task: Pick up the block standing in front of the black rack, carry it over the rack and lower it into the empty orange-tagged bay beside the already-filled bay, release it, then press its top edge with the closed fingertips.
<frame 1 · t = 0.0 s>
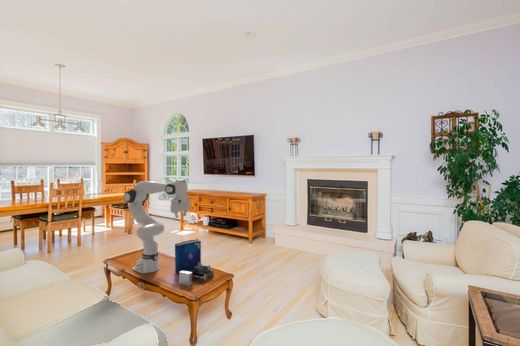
hand: (180, 216, 212), 48 cm above the table, fingers open, 8 cm apart
book: (187, 271, 223), on the table
block: (185, 283, 199), on the table
rack: (200, 277, 210), on the table
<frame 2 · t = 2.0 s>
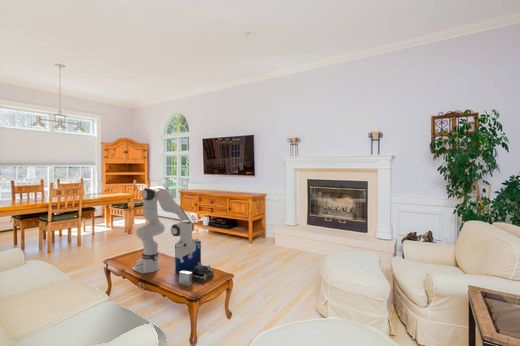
hand: (186, 260, 198), 18 cm above the table, fingers open, 8 cm apart
nothing on the table moved.
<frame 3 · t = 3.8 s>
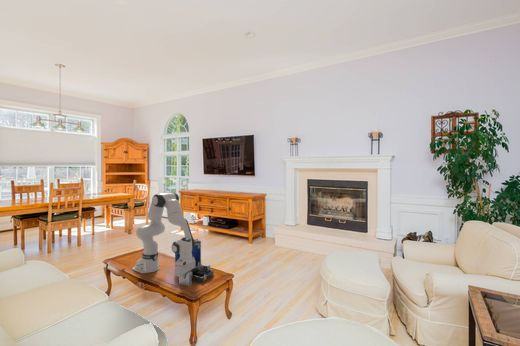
hand: (185, 277, 198), 5 cm above the table, fingers closed on block, 4 cm apart
block: (185, 283, 199), on the table, touching gripper
everything else where it was.
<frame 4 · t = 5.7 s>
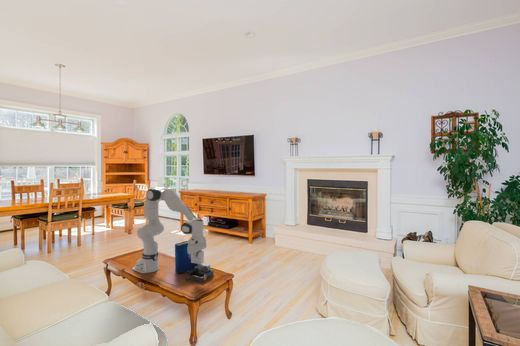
hand: (197, 256, 205), 18 cm above the table, fingers closed on block, 4 cm apart
block: (197, 262, 205), point 14 cm above the table, touching gripper
everything else where it was.
when the fingers open (5 cm above the table, at t = 7.9 s): block stays where it is, resting in rack.
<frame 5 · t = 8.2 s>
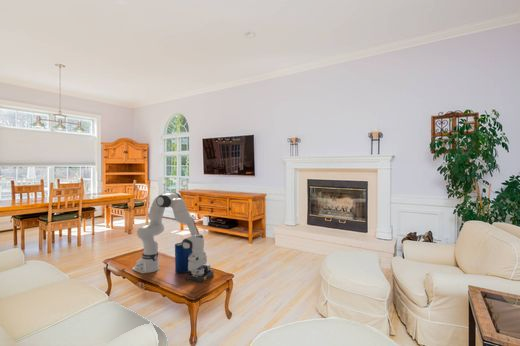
hand: (197, 272, 206), 5 cm above the table, fingers open, 7 cm apart
block: (197, 279, 206), resting in rack
everything else where it was.
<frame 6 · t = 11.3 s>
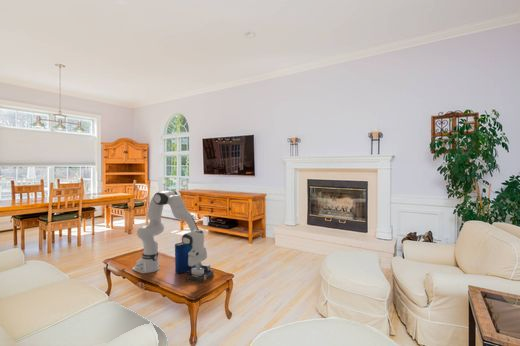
hand: (197, 268, 206), 9 cm above the table, fingers closed
nothing on the table moved.
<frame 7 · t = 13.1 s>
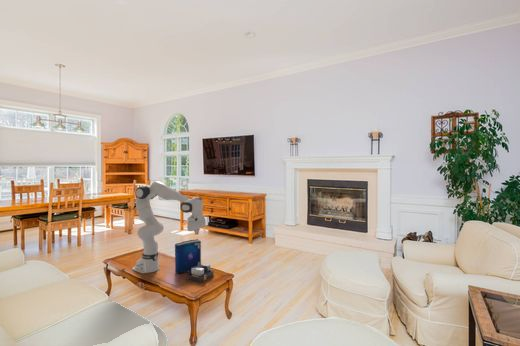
hand: (196, 234, 213), 34 cm above the table, fingers closed
nothing on the table moved.
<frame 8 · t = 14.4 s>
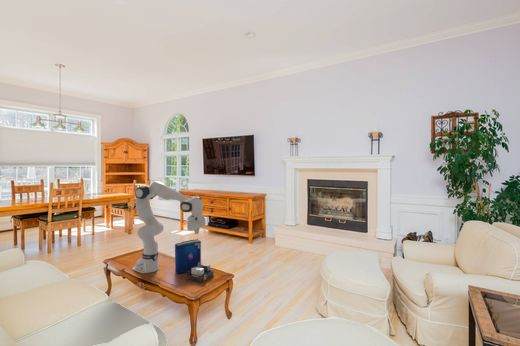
hand: (196, 233, 213), 34 cm above the table, fingers closed
nothing on the table moved.
at the end: block 0.1 cm from the target spot on the rack, point 0.0 cm above the rack's base; block tilted 0°; the gripper is holding nothing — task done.
